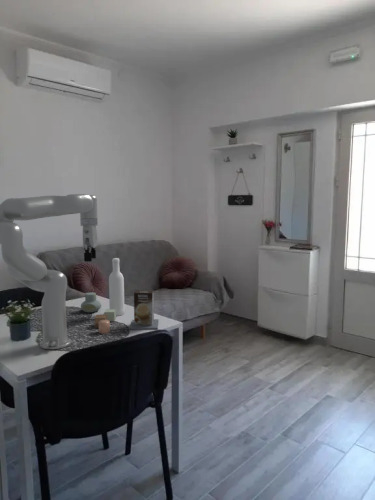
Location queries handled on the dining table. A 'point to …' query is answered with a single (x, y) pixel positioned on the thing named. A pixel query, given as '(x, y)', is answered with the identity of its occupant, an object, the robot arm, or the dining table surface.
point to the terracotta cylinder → (104, 326)
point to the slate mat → (144, 326)
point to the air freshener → (90, 303)
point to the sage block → (110, 314)
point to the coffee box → (144, 307)
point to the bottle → (116, 288)
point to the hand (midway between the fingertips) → (90, 259)
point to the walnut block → (99, 319)
